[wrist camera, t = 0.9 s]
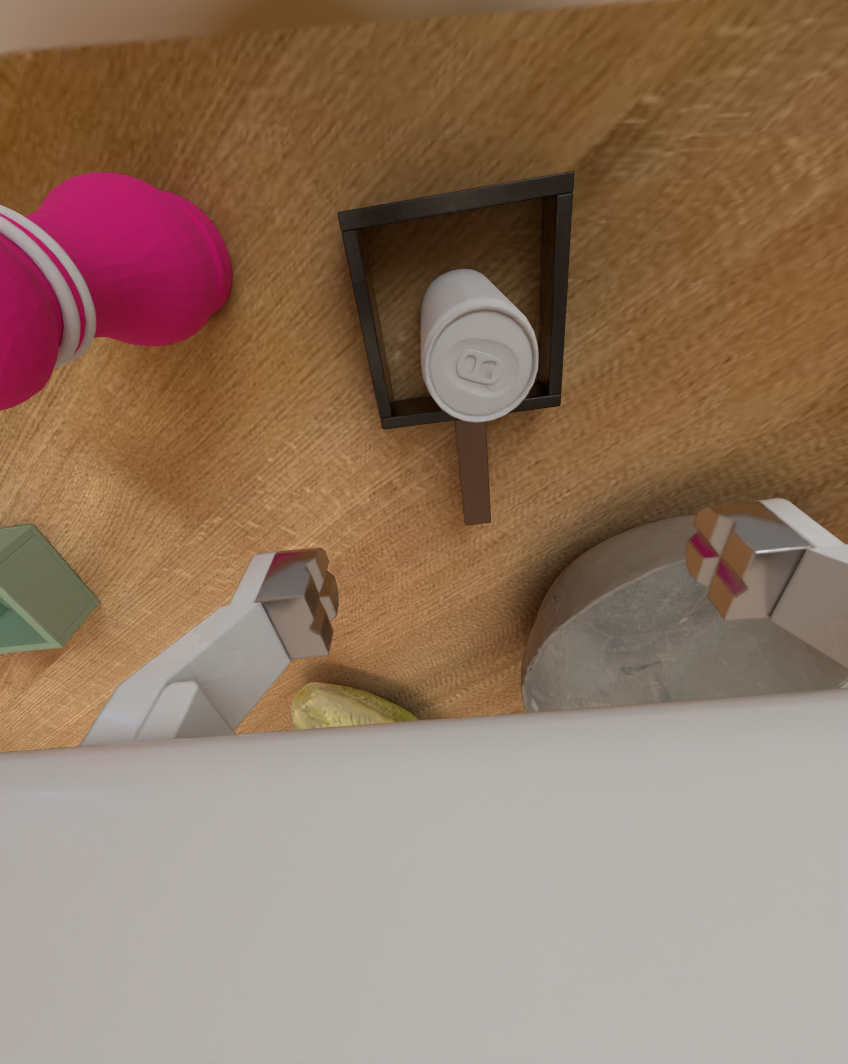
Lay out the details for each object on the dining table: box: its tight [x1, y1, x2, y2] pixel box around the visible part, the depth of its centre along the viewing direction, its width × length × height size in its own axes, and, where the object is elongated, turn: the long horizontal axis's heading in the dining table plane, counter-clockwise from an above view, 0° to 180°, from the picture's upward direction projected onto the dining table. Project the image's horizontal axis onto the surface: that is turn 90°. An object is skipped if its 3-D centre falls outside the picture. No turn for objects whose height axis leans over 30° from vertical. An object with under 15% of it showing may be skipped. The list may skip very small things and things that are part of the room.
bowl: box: [521, 515, 848, 712], centre depth 37 cm, size 28×28×10 cm
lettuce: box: [290, 682, 420, 730], centre depth 49 cm, size 13×22×14 cm
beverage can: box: [421, 269, 539, 422], centre depth 22 cm, size 5×5×12 cm
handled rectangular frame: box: [338, 171, 574, 525], centre depth 28 cm, size 20×12×3 cm, turn 8°
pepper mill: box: [0, 172, 232, 411], centre depth 17 cm, size 7×7×20 cm
